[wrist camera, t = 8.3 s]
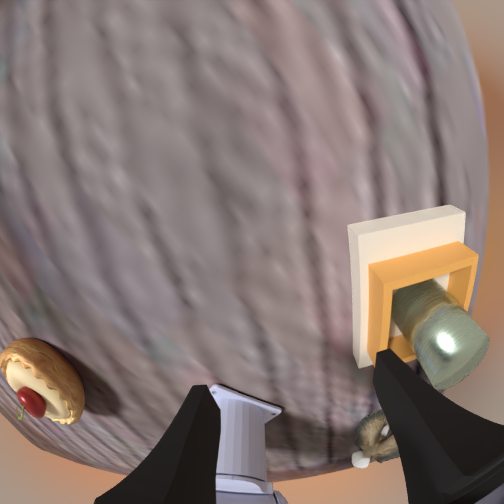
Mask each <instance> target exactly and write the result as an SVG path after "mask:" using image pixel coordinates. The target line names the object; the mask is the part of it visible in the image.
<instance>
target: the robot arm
mask: <svg viewBox="0 0 504 504" xmlns="http://www.w3.org/2000/svg"><path fill="white" fill-rule="evenodd" d="M373 383H374V387H375V390H376V394H377V397H378V400H379V403H380V405H381V408H382V410H383V412H384V415H385V417H386V419H387V422H388V424H389V426H390V429H391V431H392V433H393V436H394V438H395V441H396V444H397V447H398V450H399V454H400V458H401V462H402V467H403V471H404V475H405V481H406V487H407V493H408V502H409V504H504V425H501V424H497V423H494V422H492V421H489V420H487V419H484V418H482V417H480V416H478V415H476V414H473V413H472V412H470V411H468V410H466V409H464V408H462V407H460V406H459V405H457V404H455V403H454V402H452V401H451V400H449V399H448V398H446V397H445V396H444V395H442V394H441V393H439V392H438V391H437V390H436V389H434V388H433V387H432V386H430V385H429V384H428V383H427V382H426V381H424V380H423V379H422V378H421V377H420V376H419V375H418V374H416V373H415V372H414V371H413V370H412V369H411V368H410V367H409V366H408V365H407V364H406V363H405V362H404V361H403V360H402V359H401V358H400V357H399V356H398V355H397V354H396V353H395V352H394V351H393V350H392V349H390V348H389V349H386V350H383V351H379V352H376V361H375V370H374V377H373ZM281 412H282V410H281V408H280V407H277V406H274V405H271V404H268V403H265V402H262V401H259V400H257V399H254V398H251V397H249V396H246V395H243V394H241V393H238V392H236V391H233V390H231V389H228V388H226V387H223V386H221V385H218V384H216V385H213V386H212V387H211V388H210V389H208V387H207V385H194V386H192V388H191V389H190V391H189V393H188V395H187V397H186V399H185V400H184V402H183V404H182V406H181V408H180V409H179V411H178V413H177V414H176V416H175V418H174V419H173V421H172V423H171V424H170V426H169V428H168V429H167V431H166V432H165V433H164V435H163V436H162V438H161V439H160V441H159V442H158V443H157V445H156V446H155V447H154V449H153V450H152V451H151V452H150V453H149V455H148V456H147V457H146V458H145V459H144V460H143V461H142V462H141V463H140V464H139V466H138V467H137V468H136V469H135V470H134V471H132V472H131V473H130V474H129V475H128V476H127V477H126V478H124V479H123V480H122V481H121V482H120V483H118V484H117V485H116V486H114V487H113V488H112V489H110V490H109V491H107V492H105V493H104V494H102V495H101V496H99V497H97V498H96V499H95V501H94V504H288V502H287V500H286V499H285V498H284V497H283V496H282V494H281V493H280V492H279V491H273V483H271V482H267V477H266V450H265V423H267V422H268V421H270V420H271V419H273V418H274V417H276V416H277V415H279V414H280V413H281Z"/></svg>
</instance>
